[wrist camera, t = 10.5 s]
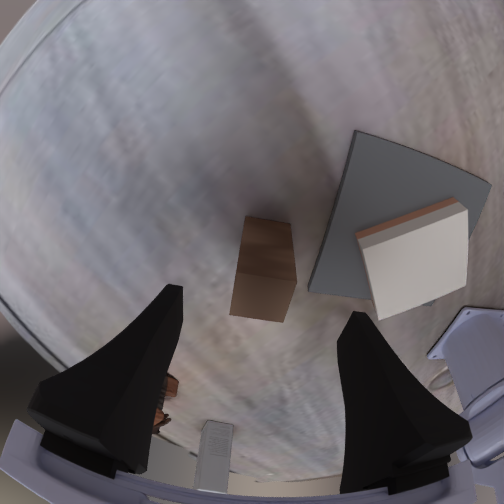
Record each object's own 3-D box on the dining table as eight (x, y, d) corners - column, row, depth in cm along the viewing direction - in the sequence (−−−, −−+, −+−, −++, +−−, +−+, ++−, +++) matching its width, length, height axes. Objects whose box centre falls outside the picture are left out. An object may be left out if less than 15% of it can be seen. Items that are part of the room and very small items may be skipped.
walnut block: (290, 223, 19) (296, 281, 14) (280, 260, 21) (283, 322, 16) (245, 216, 19) (236, 272, 14) (239, 253, 20) (229, 314, 15)
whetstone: (455, 270, 19) (453, 197, 16) (465, 285, 18) (467, 209, 14) (372, 303, 22) (354, 233, 18) (378, 320, 20) (362, 249, 17)
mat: (487, 182, 16) (491, 185, 15) (428, 301, 22) (431, 306, 22) (354, 130, 15) (357, 132, 15) (307, 286, 22) (308, 291, 21)
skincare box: (226, 435, 41) (218, 497, 31) (201, 430, 41) (191, 492, 31) (234, 424, 38) (227, 494, 28) (207, 419, 37) (196, 489, 27)
